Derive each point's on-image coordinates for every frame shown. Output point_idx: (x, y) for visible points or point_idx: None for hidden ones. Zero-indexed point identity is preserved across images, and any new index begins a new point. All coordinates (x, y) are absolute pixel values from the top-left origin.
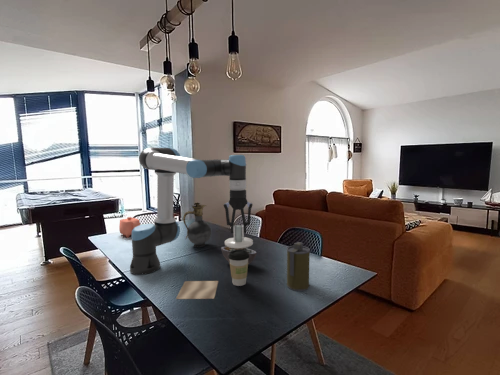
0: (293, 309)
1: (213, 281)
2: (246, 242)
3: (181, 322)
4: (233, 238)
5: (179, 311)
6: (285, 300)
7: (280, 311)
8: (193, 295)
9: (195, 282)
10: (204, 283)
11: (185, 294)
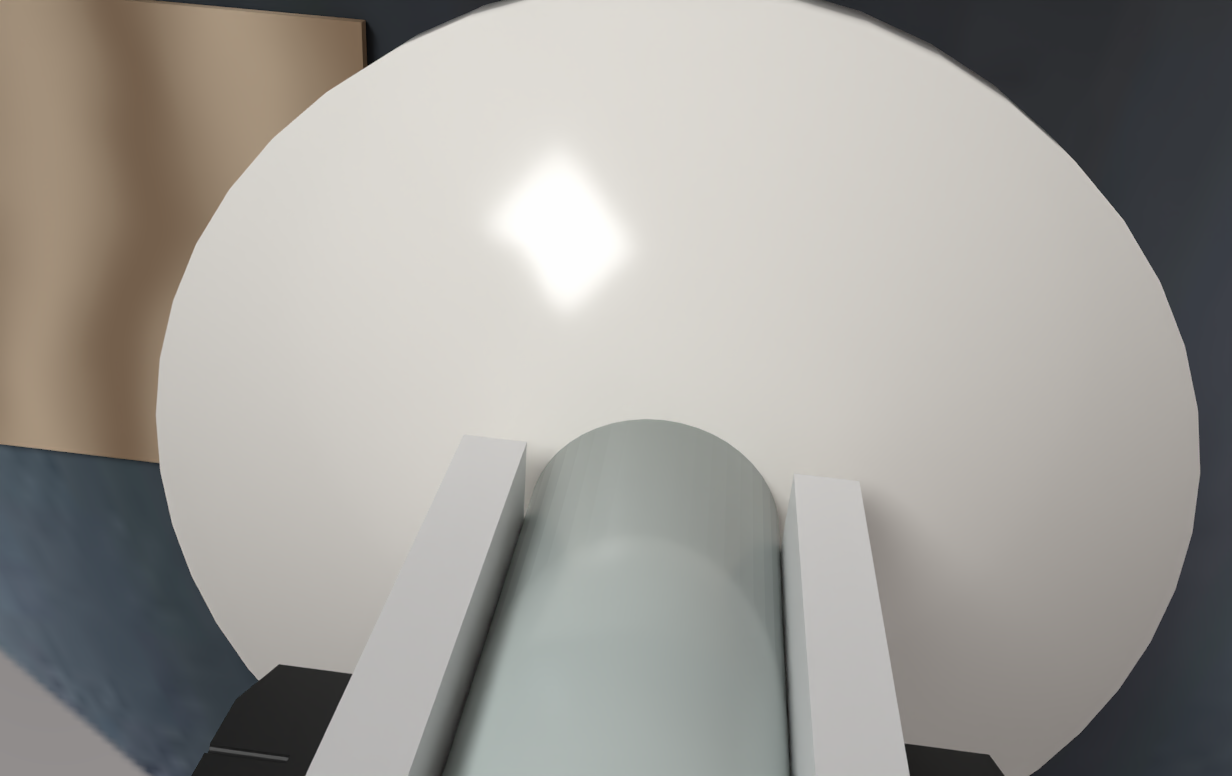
0: (1213, 760)
1: (285, 39)
2: (901, 689)
3: (171, 755)
4: (444, 184)
5: (89, 623)
6: (1212, 616)
7: (1065, 765)
8: (119, 396)
9: (13, 39)
10: (161, 91)
11: (15, 361)
